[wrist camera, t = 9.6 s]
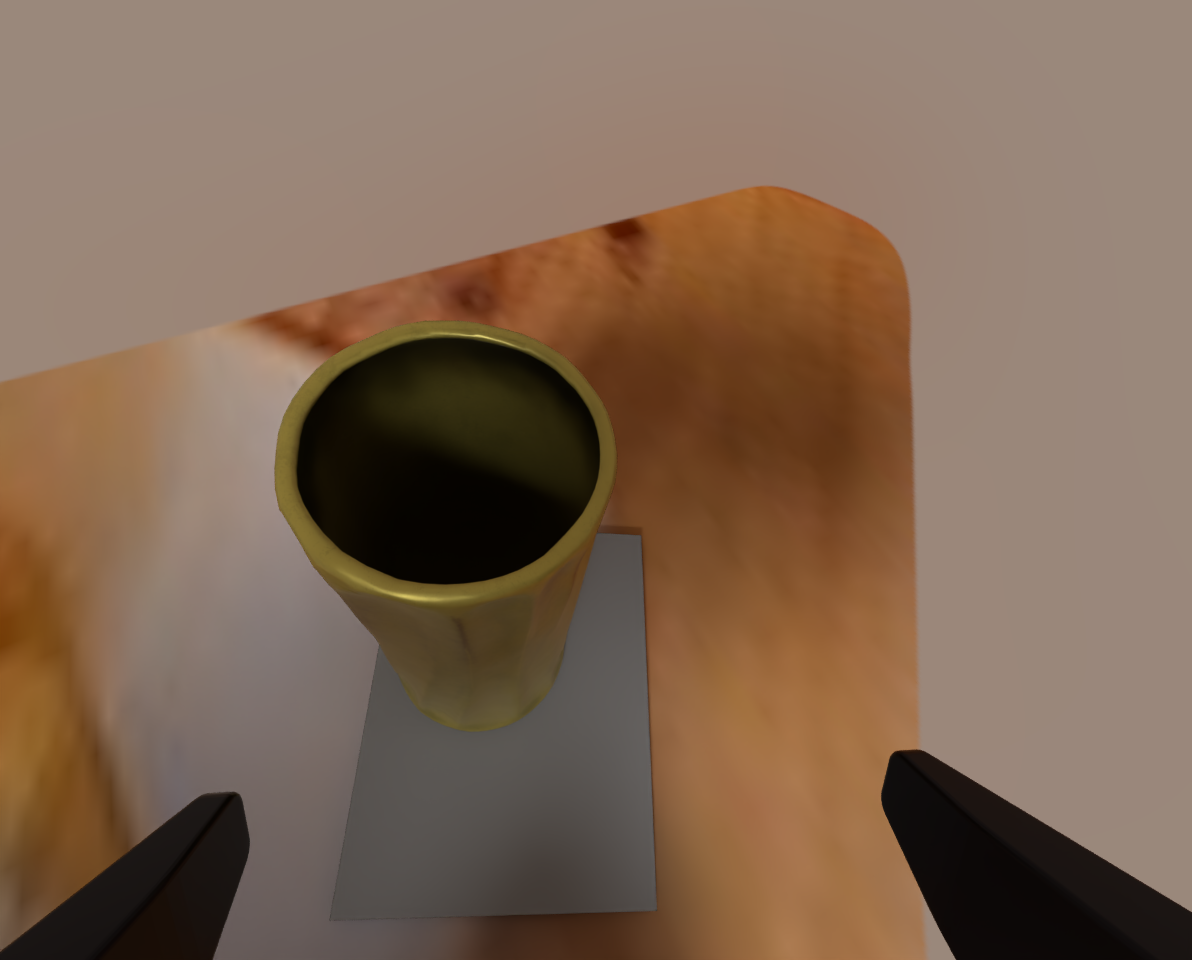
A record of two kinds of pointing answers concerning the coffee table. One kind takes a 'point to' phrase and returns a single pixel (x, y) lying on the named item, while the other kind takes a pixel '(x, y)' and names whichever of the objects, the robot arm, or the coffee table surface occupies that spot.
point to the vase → (452, 506)
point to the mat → (515, 783)
